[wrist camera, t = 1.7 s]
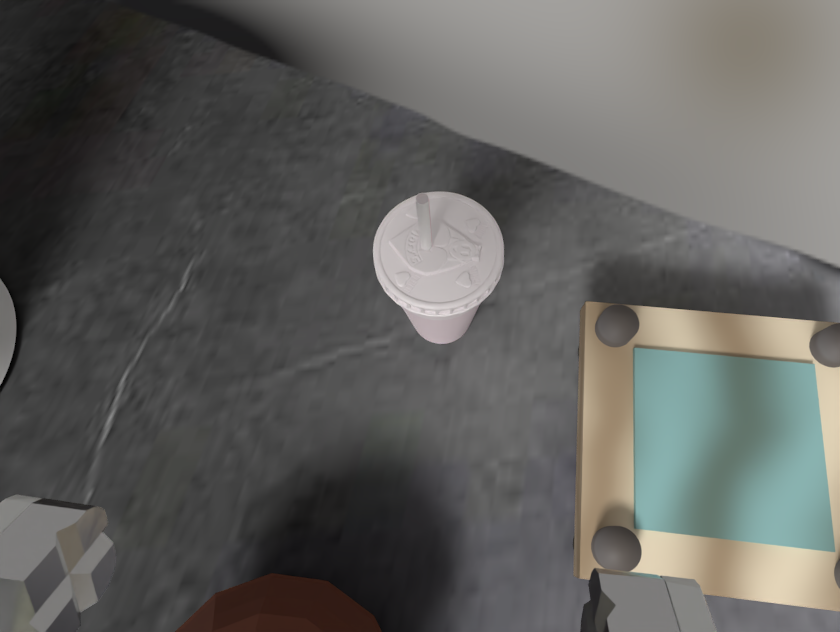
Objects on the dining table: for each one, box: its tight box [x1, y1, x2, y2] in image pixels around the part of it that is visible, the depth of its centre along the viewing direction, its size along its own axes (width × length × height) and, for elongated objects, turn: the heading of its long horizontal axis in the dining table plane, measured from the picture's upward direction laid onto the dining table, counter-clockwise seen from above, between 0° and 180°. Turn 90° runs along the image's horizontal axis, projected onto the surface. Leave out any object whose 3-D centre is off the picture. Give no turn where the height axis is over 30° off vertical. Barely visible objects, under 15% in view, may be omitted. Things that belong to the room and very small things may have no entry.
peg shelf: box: [573, 301, 840, 611], centre depth 31 cm, size 14×14×6 cm
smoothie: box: [373, 191, 504, 344], centre depth 31 cm, size 6×6×14 cm
